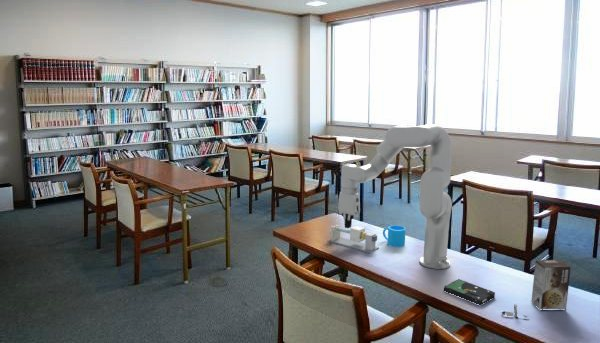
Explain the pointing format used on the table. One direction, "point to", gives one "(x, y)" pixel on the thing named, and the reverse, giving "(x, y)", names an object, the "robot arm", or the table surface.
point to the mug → (395, 235)
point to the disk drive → (469, 291)
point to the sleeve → (356, 233)
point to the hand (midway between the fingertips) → (347, 227)
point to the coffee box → (550, 284)
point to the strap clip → (511, 312)
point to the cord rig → (367, 247)
